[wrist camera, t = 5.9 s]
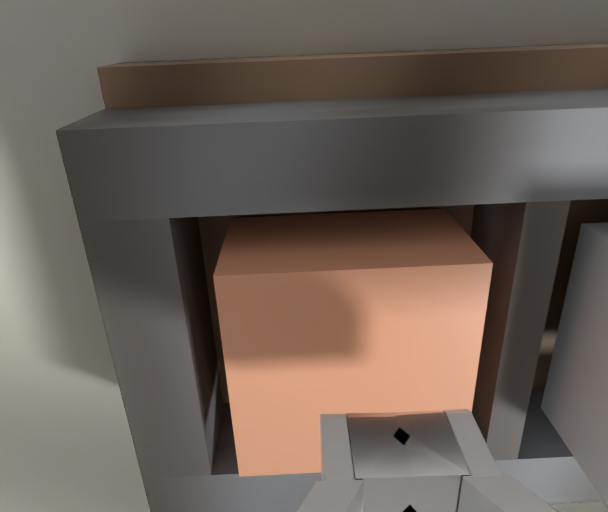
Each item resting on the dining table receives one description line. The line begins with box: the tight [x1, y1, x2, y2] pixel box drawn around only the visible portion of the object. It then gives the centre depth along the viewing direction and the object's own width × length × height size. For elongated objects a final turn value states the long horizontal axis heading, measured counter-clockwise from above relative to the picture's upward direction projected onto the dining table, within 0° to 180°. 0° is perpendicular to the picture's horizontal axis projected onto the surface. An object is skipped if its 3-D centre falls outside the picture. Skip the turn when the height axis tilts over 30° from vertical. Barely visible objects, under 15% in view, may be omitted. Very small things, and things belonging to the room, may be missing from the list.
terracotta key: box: [213, 209, 493, 477], centre depth 13 cm, size 6×6×4 cm
